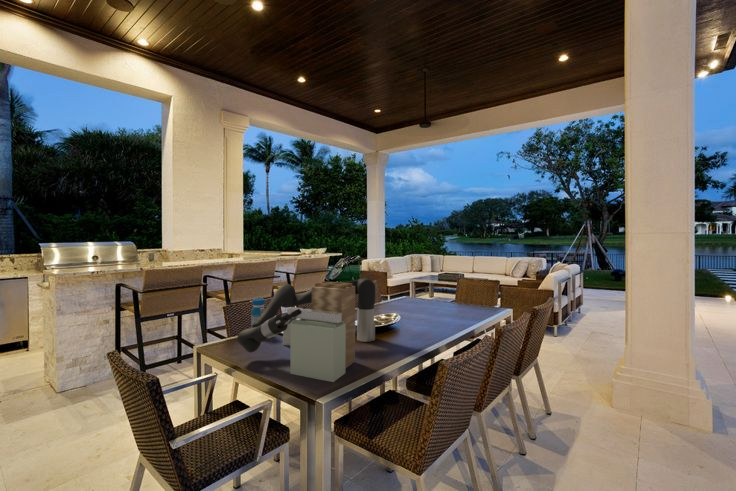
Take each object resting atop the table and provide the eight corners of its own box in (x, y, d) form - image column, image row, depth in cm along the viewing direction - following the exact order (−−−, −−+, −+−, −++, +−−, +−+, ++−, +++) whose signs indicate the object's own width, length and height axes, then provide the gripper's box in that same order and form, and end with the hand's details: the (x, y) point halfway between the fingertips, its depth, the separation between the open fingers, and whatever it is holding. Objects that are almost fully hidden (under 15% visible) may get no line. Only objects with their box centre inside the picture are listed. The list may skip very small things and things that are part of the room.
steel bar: (287, 316, 149) (287, 308, 148) (292, 315, 152) (292, 307, 152) (337, 323, 139) (337, 314, 139) (341, 321, 142) (341, 312, 142)
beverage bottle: (250, 336, 198) (250, 300, 197) (251, 332, 206) (251, 298, 206) (266, 335, 200) (266, 300, 200) (266, 331, 208) (266, 297, 208)
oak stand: (311, 365, 154) (311, 283, 153) (326, 357, 165) (326, 280, 164) (341, 370, 148) (342, 285, 147) (354, 361, 159) (355, 282, 158)
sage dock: (290, 373, 144) (290, 320, 144) (304, 365, 154) (304, 315, 153) (333, 382, 136) (333, 326, 136) (345, 373, 145) (345, 320, 145)
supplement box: (296, 346, 181) (296, 321, 181) (282, 345, 182) (282, 320, 182) (301, 342, 188) (301, 318, 188) (288, 341, 190) (288, 317, 189)
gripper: (259, 322, 148) (288, 304, 142) (281, 315, 161) (308, 299, 154) (266, 338, 147) (296, 322, 140) (287, 330, 160) (316, 314, 153)
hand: (302, 310), depth 147 cm, fingers closed on steel bar, 3 cm apart
